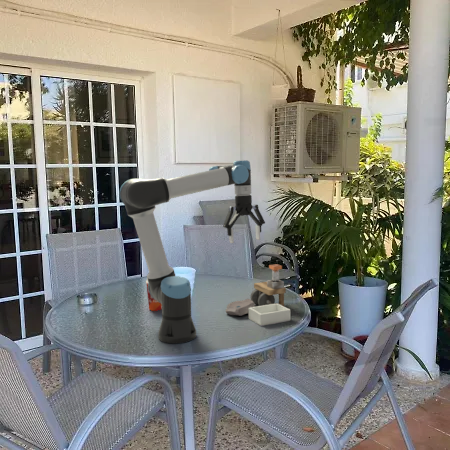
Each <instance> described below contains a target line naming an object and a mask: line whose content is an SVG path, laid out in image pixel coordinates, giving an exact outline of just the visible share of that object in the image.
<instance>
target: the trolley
mask: <svg viewBox="0 0 450 450" xmlns="http://www.w3.org/2000/svg"><path fill="white" fill-rule="evenodd" d="M286 290H287V288H286V287H285V281H283V280H281V279H279V282H272V279H267V280H266V281H261V282H255V283H253V291H251V293H250V298H249V299H250V300H251V301H253V302H254V304H255V306H256V307H257V306H263V305H269V304H276V298H275V296H276V295H278V304H280V305H282V306H284V307H285V294H286V292H287V291H286Z"/></svg>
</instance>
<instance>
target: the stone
mask: <svg viewBox="0 0 450 450" xmlns="http://www.w3.org/2000/svg"><path fill="white" fill-rule="evenodd" d="M251 307H257V305H255V304H254V302H253V301H251V298H246V299H244V300H236V301H231V302H230V303H228V304H227V305H226V309H225V313H226V314H227V315H229V316H239V317H241V316H244V315H246V314H248V315H249V311H248V308H251Z"/></svg>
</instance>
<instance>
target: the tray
mask: <svg viewBox="0 0 450 450" xmlns="http://www.w3.org/2000/svg"><path fill="white" fill-rule="evenodd" d="M248 311H249V314H248V319H249V320H250V321H251V322H253V323H255V324H256V325H258V326H259V327H263V326H268V325H274V324H279V323H285V322H286V323H287V322H290V321H291V309H290V308H288V307H286V306H285V305H284V306H282V305H280V304H279V302H277V303H276V302H275V303H274V304H269V305H263V306H257V305H256V307H251V308H248Z"/></svg>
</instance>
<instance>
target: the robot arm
mask: <svg viewBox="0 0 450 450" xmlns="http://www.w3.org/2000/svg"><path fill="white" fill-rule="evenodd" d="M251 173H252V168H251V162H250V160H244V159H243V160H235V161H233V165H215V166H214V165H213V166H211V167H210V168H209V169H208V170H205V171H201V172H196V173H192V174H191V173H190V174H186V175H180V176H177V177H172V178H168V179H167V178H164V177H158V178H135V177H134V178H130V179H127V180H126V181H124V183H123V184H121V186H120V188H119V194H118V195H119V198H120V201H121V203H122V204H123V205H124V206H125V209H126V214H127V216H128V217H130V218H131V219H132V220H133V224H134V226H135V230H136V233H137V237H138V240H139V243H140V247H141V250H142V253H143V256H144V260H145V262H146V265H147V266H146V267H147V269H148V274H147V275H146V280H147V279H148V282H149V283H148V290H149V293H150V295H151V296H152V297H153V298H154V299H155V300H157V301H158V302H159V303H161V304H162V309H161V321H160V326H159V329H158V336H157V337H158V340H160V342H162V343H167V344H184V343H187V342H190V341H192V340H194V339H196V338H197V328H196V326H195V323H194V321H193V317H192V286H191V282H190V280H189V279H188V278H186V277H183V276H177V275H176V273H175V268H174V267H172V266H170V265H169V261H168V259H167V255H166V252H165V248H164V244H163V242H162V241H163V240H162V238H161V234H160V232H159V227H158V224H157V220H156V218H155V215H154V211H155V209H156V206H158V205H161V204H164V203H168V202H170V201H171V199H175V198H179V197H183V196H188V195H191V194H196V193H200V192H204V191H209V190H213V189H214V190H215V189H218V188H221V187H222V188H223V187H225V186H231V185H234V195H235V196H234V204H235V206H228V213H227V215H226V218H225V220H224V223H223V225H222V226H223V228H225V229H227V236H228V238H229V244H234V243H235V241H234V228H233V226H234V225H235V223H236V222H237V221H238V219H239V218H240V217H243V216H249V217H250V218H251V220H253V222H254V223H255V224H256V225H254V226H255V239H256V240H257V241H260V240H261V233H262V226H263V225H264V224H266V221H265V220H264V217H263V215H262V213H261V211H260V210H259V205H258V204H253V203H252V201H253V199H252V195H251V194H252V177H251V176H252V175H251ZM252 210H253V211H254V212H253V211H252ZM234 212H235V213H234ZM254 213H255V214H254Z"/></svg>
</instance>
